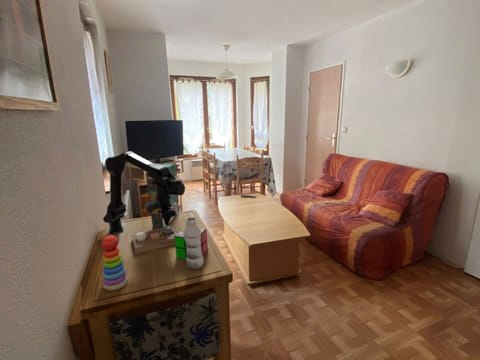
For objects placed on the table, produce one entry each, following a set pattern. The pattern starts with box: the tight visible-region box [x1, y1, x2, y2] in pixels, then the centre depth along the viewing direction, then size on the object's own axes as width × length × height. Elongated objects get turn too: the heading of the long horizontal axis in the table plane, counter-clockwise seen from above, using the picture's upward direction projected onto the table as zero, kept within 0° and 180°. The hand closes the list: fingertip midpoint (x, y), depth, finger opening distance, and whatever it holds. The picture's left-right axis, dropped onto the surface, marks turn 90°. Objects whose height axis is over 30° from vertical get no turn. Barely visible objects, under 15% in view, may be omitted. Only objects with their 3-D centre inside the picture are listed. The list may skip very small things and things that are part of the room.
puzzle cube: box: [174, 226, 209, 260], centre depth 108 cm, size 10×10×10 cm
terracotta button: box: [150, 233, 160, 239], centre depth 119 cm, size 4×4×3 cm
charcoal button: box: [163, 225, 173, 236], centre depth 122 cm, size 4×4×3 cm
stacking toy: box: [101, 234, 129, 291], centre depth 88 cm, size 8×8×19 cm
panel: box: [131, 225, 178, 255], centre depth 120 cm, size 14×19×3 cm
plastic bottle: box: [183, 217, 204, 270], centre depth 97 cm, size 6×7×20 cm
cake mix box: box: [145, 163, 180, 229], centre depth 140 cm, size 22×6×30 cm, turn 172°
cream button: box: [135, 231, 147, 242], centre depth 116 cm, size 4×4×3 cm
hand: (166, 225), depth 121 cm, fingers closed
